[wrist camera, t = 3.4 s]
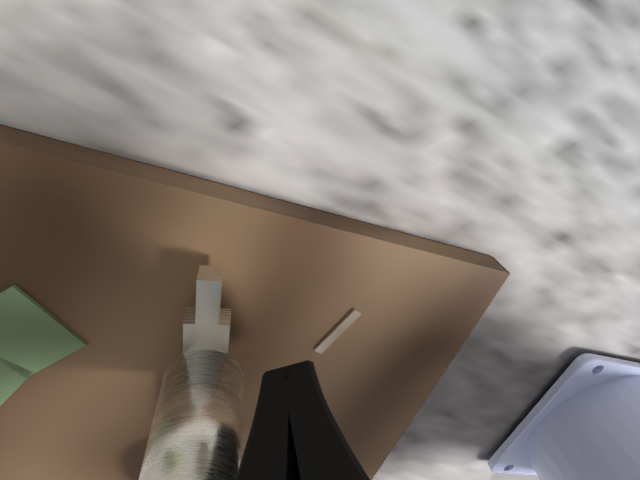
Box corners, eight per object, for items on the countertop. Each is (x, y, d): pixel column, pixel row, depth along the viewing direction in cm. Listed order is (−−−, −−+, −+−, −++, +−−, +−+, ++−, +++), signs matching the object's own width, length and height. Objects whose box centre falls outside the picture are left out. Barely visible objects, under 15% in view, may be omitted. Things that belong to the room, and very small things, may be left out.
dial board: (493, 257, 13) (512, 275, 12) (318, 532, 21) (321, 556, 20) (-102, 97, 8) (-146, 107, 8) (-52, 531, 16) (-71, 564, 15)
